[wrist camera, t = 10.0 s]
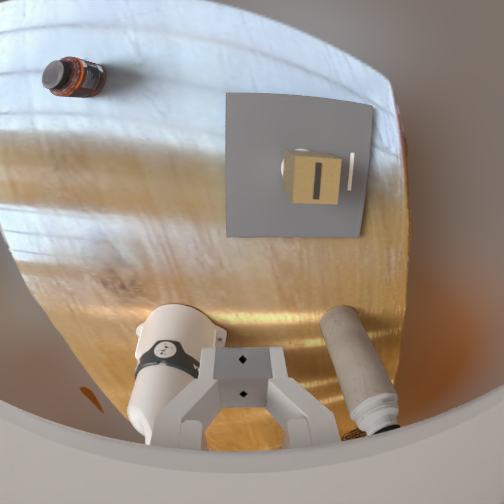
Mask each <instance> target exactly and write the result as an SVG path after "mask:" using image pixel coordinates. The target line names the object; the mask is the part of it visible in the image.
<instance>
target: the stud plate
mask: <svg viewBox="0 0 504 504" xmlns="http://www.w3.org/2000/svg"><path fill="white" fill-rule="evenodd" d="M372 110H373V106H372V105H367V104H361V103H356V102H349V101H343V100H336V99H328V98H320V97H311V96H300V95H287V94H270V93H226V237H349V238H359V235H360V229H361V223H362V216H363V209H364V202H365V194H366V186H367V177H368V167H369V157H370V145H371V130H372ZM284 150H302V151H317V152H324V153H327V154H329V155H332V156H335V157H337V158H340V159H342V161H341V173H340V184H339V194H338V204H337V205H334V204H305V203H292V202H291V200H290V199H289V197H288V195H287V194H286V192H285V191H284V189H283V188H282V187H283V164H284Z"/></svg>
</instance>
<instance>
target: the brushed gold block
mask: <svg viewBox="0 0 504 504" xmlns="http://www.w3.org/2000/svg"><path fill="white" fill-rule="evenodd" d="M341 161H342V159H340V158H337V157H335V156H332V155H329V154H327V153H324V152H317V151H302V150H284V164H283V187H282V188H283V189H284V191H285V192H286V194H287V195H288V197H289V199H290V200H291V202H292V203H305V204H334V205H337V204H338V194H339V184H340V173H341Z"/></svg>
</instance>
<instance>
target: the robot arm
mask: <svg viewBox="0 0 504 504" xmlns="http://www.w3.org/2000/svg"><path fill="white" fill-rule="evenodd" d="M136 334H137V336H138V337H139V341H138V345H137V349H136V353H135V357H136V358H137V360H138V364H137V367H136V372H135V384H134V387H133V391H132V394H131V398H130V401H129V404H128V408H127V413H128V417H129V420H130V421H131V423H132V425H133V426H134V428H135V429H136V430H137V431H138V432H140V433H141V434H142V435H143V436H145V444H139V443H133V442H128V441H123V440H118V439H113V438H108V437H104V436H100V435H96V434H92V433H88V432H85V431H81V430H78V429H74V428H71V427H68V426H64V425H61V424H58V423H55V422H52V421H50V420H47V419H44V418H41V417H38V416H36V415H33V414H31V413H28V412H26V411H24V410H21V409H19V408H17V407H14V406H12V405H10V404H8V403H6V402H4V401H2V400H0V504H504V385H502V386H500V387H498V388H496V389H494V390H493V391H491V392H489V393H487V394H485V395H483V396H481V397H479V398H476V399H474V400H472V401H470V402H468V403H466V404H463V405H461V406H459V407H456V408H454V409H452V410H449V411H447V412H444V413H442V414H439V415H436V416H434V417H431V418H428V419H425V420H422V421H420V422H417V423H413V424H410V425H407V426H404V427H401V428H397V429H394V430H390V431H386V432H383V433H379V434H375V435H371V436H366V437H362V438H357V439H352V440H347V441H342V442H341V440H340V436H339V432H338V428H337V425H336V421H335V417H334V414H333V413H332V412H331V411H330V410H329V409H327V408H326V407H325V406H324V405H323V404H322V403H320V402H319V401H318V400H317V399H316V398H315V397H313V396H312V395H311V394H310V393H309V392H308V391H307V390H306V389H304V388H303V387H302V386H301V385H300V384H299V383H298V382H297V381H295V380H294V379H293V378H288V373H287V367H286V362H285V356H284V351H283V347H282V346H269V347H224V346H225V341H226V337H227V331H226V330H225V329H223V328H221V327H219V326H217V325H215V324H214V323H212V322H211V321H210V319H209V318H208V317H207V316H205V315H204V314H203V313H201V312H200V311H198V310H196V309H194V308H192V307H189V306H185V305H179V304H169V305H164V306H161V307H158V308H156V309H155V310H153V311H152V312H151V313H150V315H149V316H148V318H147V320H146V321H145V322H144V323H142V324H140V325H139V326H138V327H137V329H136ZM219 338H221V339H219ZM235 407H266V409H267V410H268V411H269V412H270V414H271V415H272V416H273V417H274V419H275V420H276V421H277V422H278V423H279V425H280V426H281V427H282V428H283V429H284V431H285V434H284V438H283V442H282V446H281V449H280V450H264V451H213V450H212V449H211V448H210V447H209V446H208V444H207V440H206V436H205V430H206V429H207V428H208V426H209V425H210V424H211V422H212V421H213V420H214V418H215V417H216V416H217V414H218V413H219V412H220V410H221V408H235Z"/></svg>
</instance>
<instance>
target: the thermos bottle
mask: <svg viewBox="0 0 504 504" xmlns="http://www.w3.org/2000/svg"><path fill="white" fill-rule="evenodd" d="M320 329H321V332H322V334H323V337H324V340H325V343H326V346H327V349H328V351H329V354H330V357H331V360H332V362H333V365H334V368H335V371H336V375H337V378H338V381H339V384H340V387H341V390H342V393H343V396H344V399H345V402H346V405H347V409H348V412H349V415H350V418H351V419H352V420H353V421H355V422H356V425H357V426H358V428H359V429H360V430H362V431H366V433H367V436H371V435H375V434H379V433H383V432H386V431H390V430H394V429H397V428H400V425H398V421H397V419H396V417H397V415H398V413H399V409H398V404H397V401H398V395H397V393H396V391H395V389H394V387H393V385H392V382H391V380H390V378H389V376H388V374H387V372H386V370H385V368H384V366H383V364H382V362H381V360H380V358H379V356H378V354H377V352H376V350H375V348H374V346H373V344H372V342H371V340H370V339H369V337H368V335H367V333H366V331H365V329H364V327H363V325H362V323H361V321H360V319H359V317H358V316H357V314H356V312H355V310H354V309H353V308H351V307H349V306H337V307H334V308H332V309H330V310H329V311H327V312H326V313H325V314H324V316H323V317H322V319H321V321H320Z"/></svg>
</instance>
